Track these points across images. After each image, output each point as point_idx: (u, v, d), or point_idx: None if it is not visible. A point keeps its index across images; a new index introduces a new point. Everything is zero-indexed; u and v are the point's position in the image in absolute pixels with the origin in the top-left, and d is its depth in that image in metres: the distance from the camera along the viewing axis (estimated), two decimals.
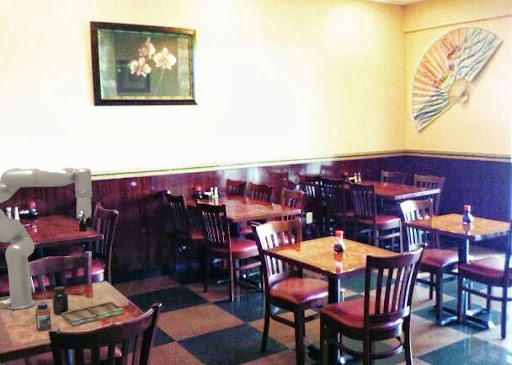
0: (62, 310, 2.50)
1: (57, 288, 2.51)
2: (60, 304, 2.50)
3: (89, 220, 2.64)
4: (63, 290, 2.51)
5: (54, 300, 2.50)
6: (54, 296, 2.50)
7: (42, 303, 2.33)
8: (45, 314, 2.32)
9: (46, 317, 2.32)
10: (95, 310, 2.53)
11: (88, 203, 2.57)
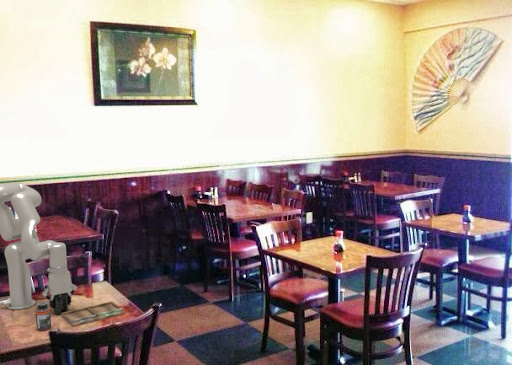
0: (62, 310, 2.50)
1: None
2: (60, 303, 2.50)
3: None
4: None
5: (54, 300, 2.50)
6: (54, 296, 2.50)
7: (42, 303, 2.33)
8: (45, 314, 2.32)
9: (46, 317, 2.32)
10: (95, 310, 2.53)
11: None
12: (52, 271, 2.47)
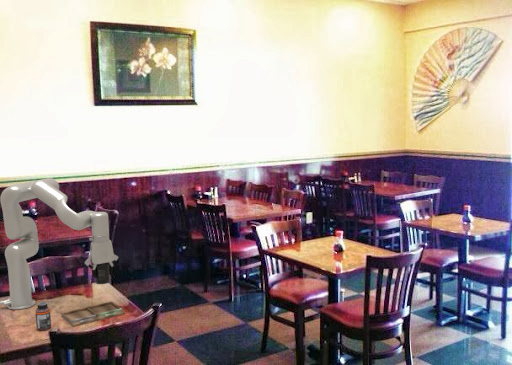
0: (104, 279, 2.49)
1: None
2: (103, 273, 2.48)
3: None
4: None
5: (96, 269, 2.48)
6: None
7: (42, 303, 2.33)
8: (45, 314, 2.32)
9: (46, 317, 2.32)
10: (95, 310, 2.53)
11: None
12: (95, 240, 2.46)
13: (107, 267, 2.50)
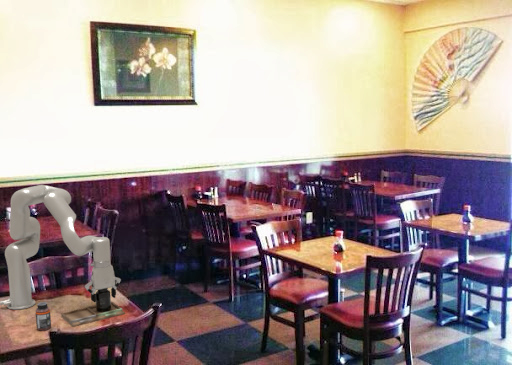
0: (105, 307, 2.51)
1: None
2: (104, 301, 2.50)
3: None
4: None
5: (97, 297, 2.50)
6: (97, 293, 2.50)
7: (42, 303, 2.33)
8: (45, 314, 2.32)
9: (46, 317, 2.32)
10: (95, 310, 2.53)
11: None
12: (96, 265, 2.48)
13: (108, 295, 2.51)
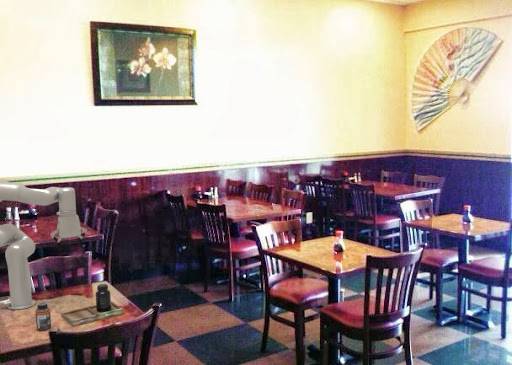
0: (105, 307, 2.51)
1: (100, 285, 2.52)
2: (104, 301, 2.50)
3: None
4: (106, 287, 2.52)
5: (97, 297, 2.50)
6: (97, 293, 2.50)
7: (42, 303, 2.33)
8: (45, 314, 2.32)
9: (46, 317, 2.32)
10: (95, 310, 2.53)
11: None
12: (62, 214, 2.54)
13: (108, 295, 2.52)
